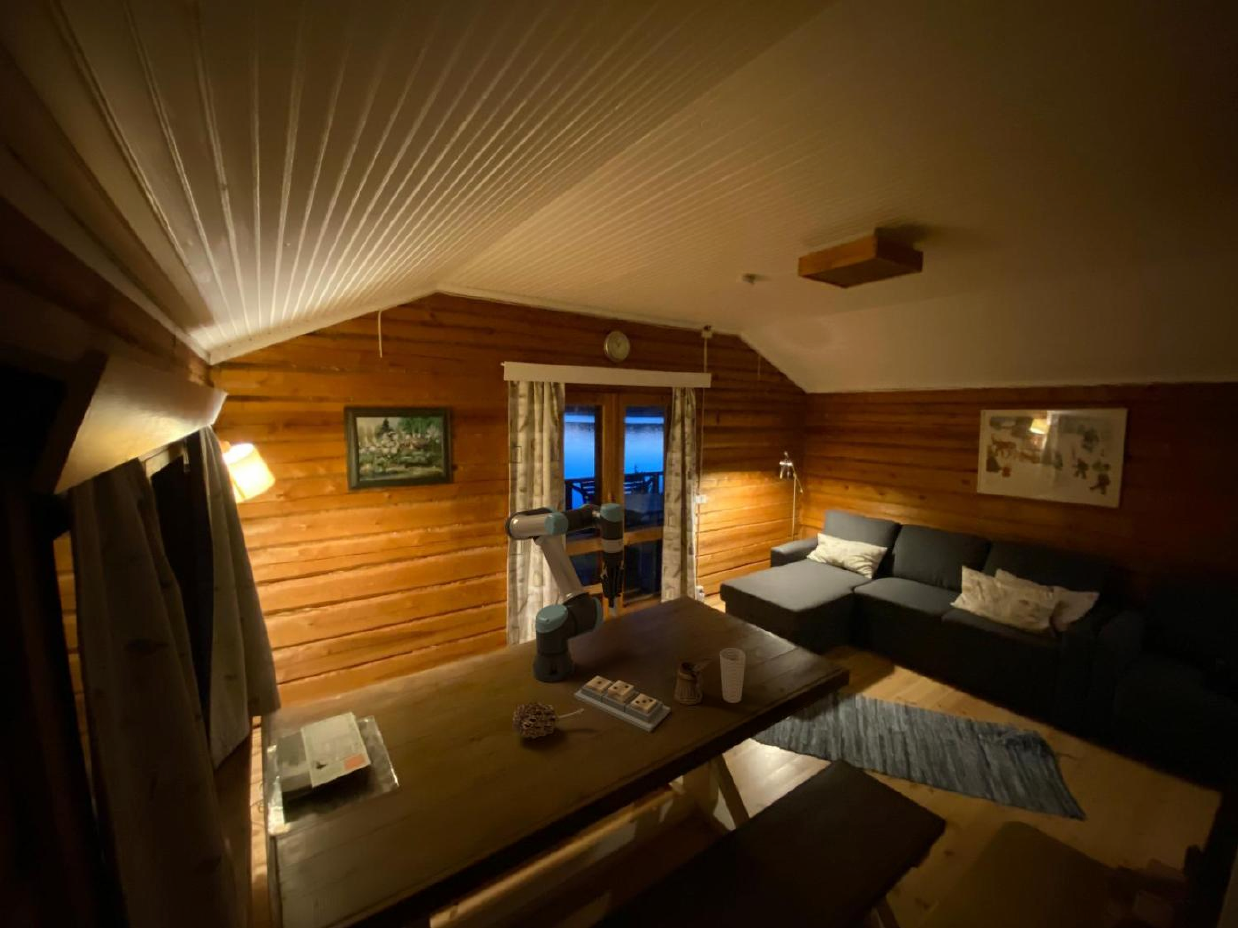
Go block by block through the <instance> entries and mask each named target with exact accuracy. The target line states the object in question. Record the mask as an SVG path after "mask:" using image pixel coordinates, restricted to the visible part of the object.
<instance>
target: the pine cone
mask: <svg viewBox="0 0 1238 928" xmlns="http://www.w3.org/2000/svg"><path fill="white" fill-rule="evenodd" d="M584 711H585V709H584V708H581V707H580V708H579V710H576V711H574V712H571V713H567V714H563V715H559V716H558V714H556V713H555V709H554V707H553V705H552V704H548V703H547V702H544V703H542V702H540V701H539V702H537V701H534V703H533V702H532V701H531V702H529V703H527V704H522V705H520V706H518V707H517V709H516V710H515V711H513V717H512V729H513V730H514V732H515V731H516V734H517V735H519V736H521V735H522V737H524V738H527V739H528V738H530V737H531V738H532V739H535V738H539V737H545V736H547V735H550V734H553V732H554V729H555V726H556V724H558V723H557V722H560V721H565V720H569V719H571V718H576V717H579V716H584Z"/></svg>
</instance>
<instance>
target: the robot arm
mask: <svg viewBox="0 0 1238 928" xmlns="http://www.w3.org/2000/svg"><path fill="white" fill-rule="evenodd" d="M623 510H624V509H623V506H622V505H621V504H620V503H613V502H610V503H609V502H608V503H603V504H601V506H599V505H596V504H593V503H584V504H582V505H581V506H580V507H578V508H574V509H568V510H563V511H559V510H557V509H556V508H555V507H552V506H541V507H539V508H533V509H528V510H520V511H518V512H514V513H513V514H511V515H510V516H508V518H507V519H506V521H505V523H504V531H505V533H506V535H507V537H509V538H510V539H512V540H513V541H526V540H533V542H534V544H535V546H538V547H540V549H541V551H542V553H543V556H544V559H545V560H546V562H547V566H548V567H549V570H550V572H551V575H552V578H553V579H554V582H555V584H556V586H557V588H558V591H559V593H560V596H561V598H562V603H561V604H558V603H557V604H550V605H547V606H546V605H545V606H544V607H543V608H540V609H539V610H538V612H537V614H536V616H535V624H534V629H535V643H536V644H535V645H536V653H535V657H534V660H533V664H532V676H533V677H534V676H535V677H536V678H537V679H536V678H535V677H534V678H535V679H536V680H538V679H539V680H538V681H540V680H541V682H544V681H547V682H546V683H555V682H561V681H563V680H566V679H568V678H570V676H572V675H573V674H574V671H575V661H574V659H573V657H572V654H571V652H570V647H569V646H570V645H569V641H570V640H572V639H576V638H578V637H581V636H583V635H587V634H589V633H592V632H594V631H595V630H598V629H600V627H601V626H602V625H603V622H604V617H605V615H604V608H603V605H602V602H601V601H600V599H598V598H597V597H595V596H594V597H592V596H591V593H590V591H588V590H584V588H583V586H582V585H583V584H581V581H580V579H579V577H578V575H577V573H576V570H575V568H574V566H573V563H572V560H571V559H570V557H569V554H568V553H567V550H566V549H565V546H564V543H563V542H562V540H561V536H562V535H566V534H569V533H573V532H579V531H583V530H587V529H591V528H593V529H594V528H595V529H598V530H600V541H601V542H600V543H601V544H600V549H601V561H602V562H603V568H602V569H603V571H602V572H600V573H598V577H599V579H600V583H601V588H602V593H603V598H605V599H608V602H607V603H608V615H609V616H612V617H615V618H616V617H618V616H619V598H621V597H622V593H623V587H624V582H625V581H624V580H625V571H626V568H627V564H624V563H623V561H624V559H625V558H624V557H625V556H624V555H625V554H624V552H625V551H624V516H625V515H624V513H623V512H624V511H623Z"/></svg>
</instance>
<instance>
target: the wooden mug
mask: <svg viewBox="0 0 1238 928" xmlns="http://www.w3.org/2000/svg"><path fill="white" fill-rule="evenodd" d="M710 661H711V660H710V658H704V659H702V660H701V661H698V662H697V663H695V662H693V661H686V660H685V661H683V662H680V663H679V666H678V669H677V679H676V685H675V686H676V687H675V690H674V695H673V697H674V700H675V701H676V702H678V703H680V704H682V705H685V706H692V705H696V704H699V703H700V702H701V700H702V699H703V693H702V691H701V688H702V685H703V676H702V675H703V674H702V672H701V671H702V670H703V669H705V668H706V667H707V666H708V665H709V664H710Z"/></svg>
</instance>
